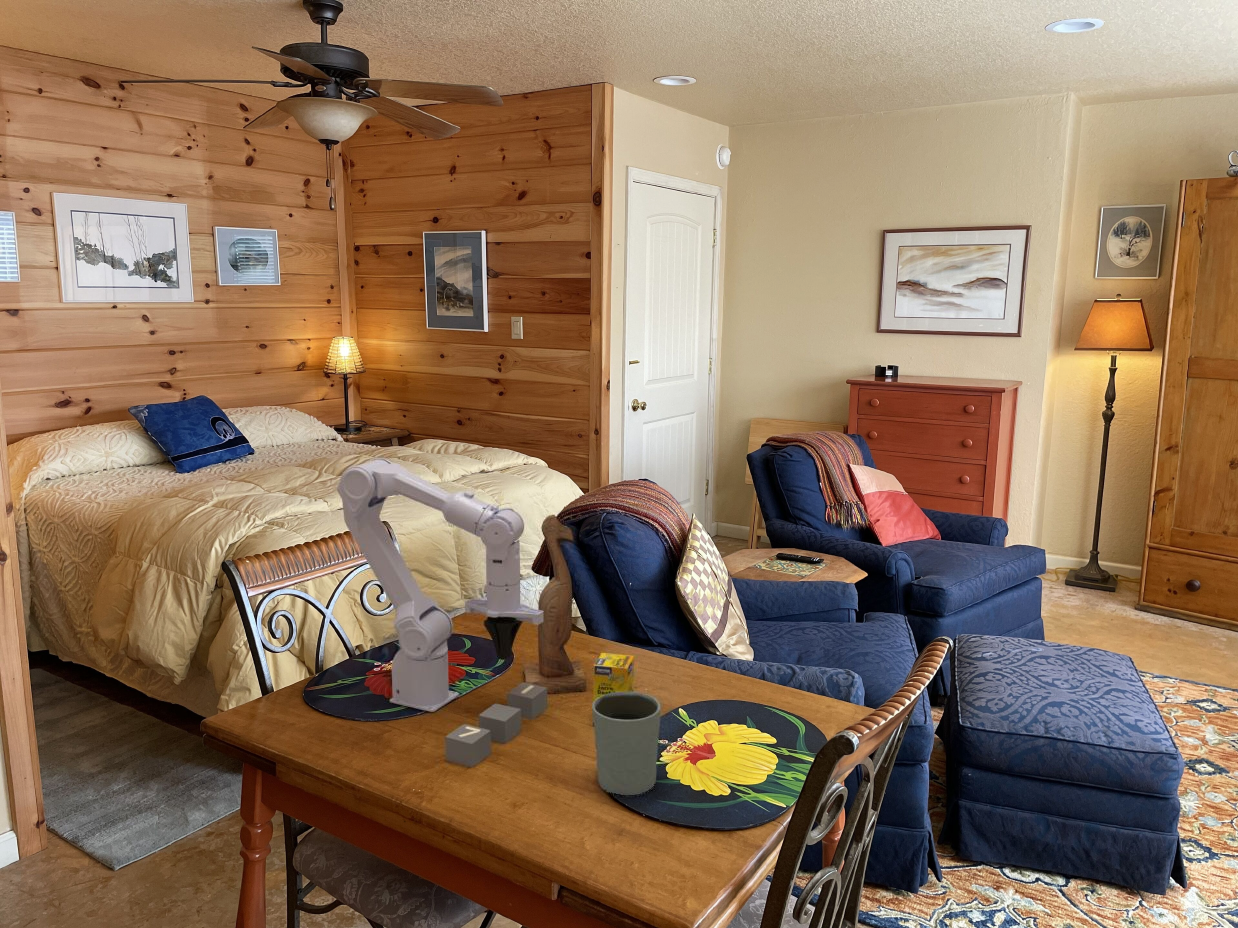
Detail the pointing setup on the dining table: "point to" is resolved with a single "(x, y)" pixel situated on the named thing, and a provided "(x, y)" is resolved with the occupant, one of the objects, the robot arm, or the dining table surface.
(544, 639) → the bird sculpture
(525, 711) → the block one
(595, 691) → the supplement box
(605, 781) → the grey cup
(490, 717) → the plain block
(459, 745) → the block seven
